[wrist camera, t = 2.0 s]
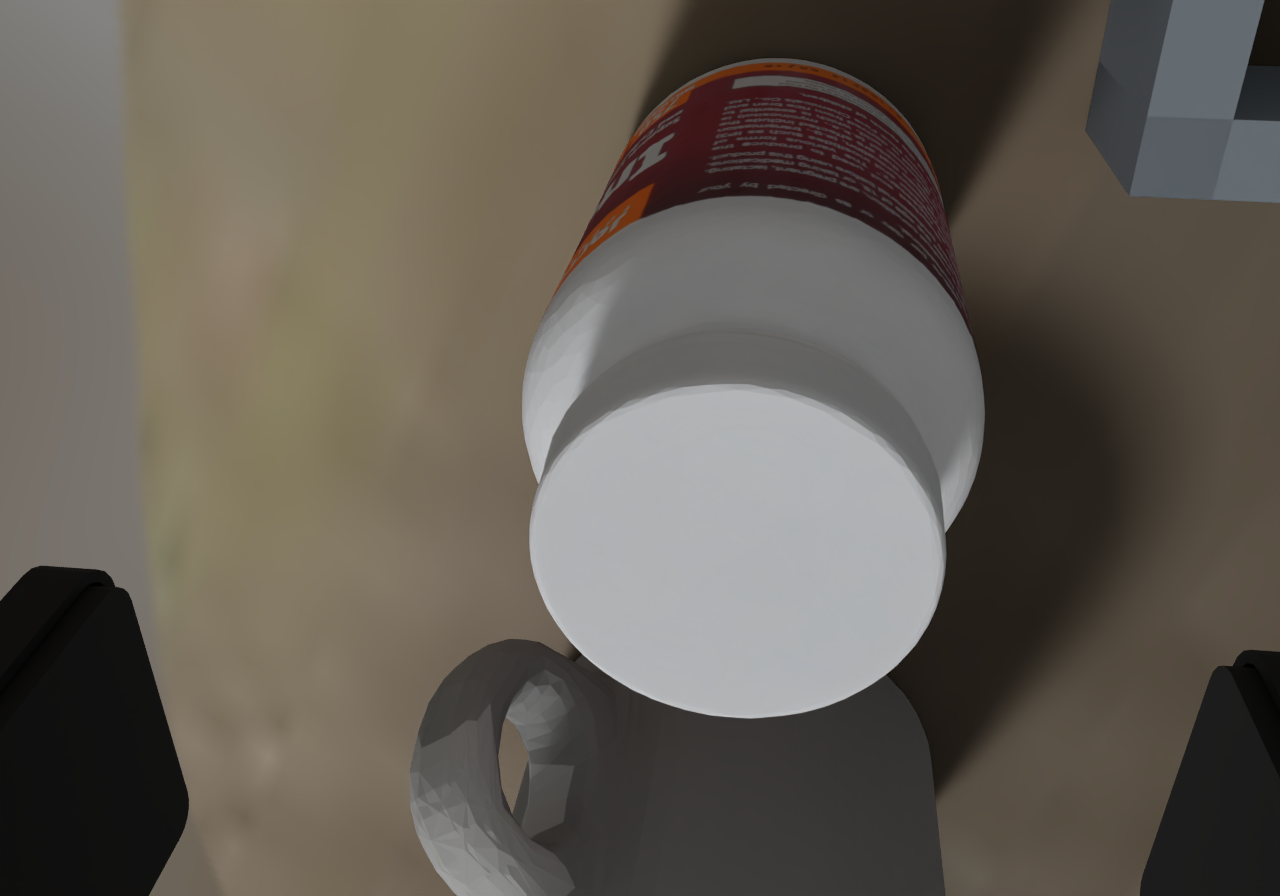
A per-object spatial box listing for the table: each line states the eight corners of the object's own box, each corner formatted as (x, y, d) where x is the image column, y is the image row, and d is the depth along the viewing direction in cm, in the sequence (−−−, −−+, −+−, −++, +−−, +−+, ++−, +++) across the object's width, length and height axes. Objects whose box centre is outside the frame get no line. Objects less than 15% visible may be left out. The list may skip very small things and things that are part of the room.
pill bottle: (635, 20, 21) (482, 249, 11) (981, 84, 21) (1113, 370, 11) (591, 332, 24) (444, 708, 15) (889, 390, 24) (931, 810, 15)
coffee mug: (989, 848, 30) (1054, 1281, 22) (649, 926, 34) (590, 1328, 25) (769, 434, 25) (741, 797, 16) (391, 578, 28) (205, 939, 20)
